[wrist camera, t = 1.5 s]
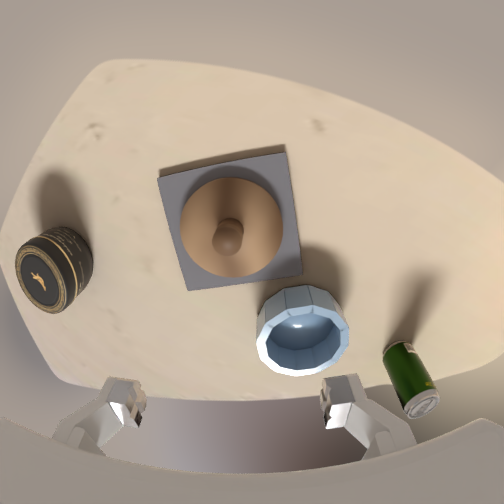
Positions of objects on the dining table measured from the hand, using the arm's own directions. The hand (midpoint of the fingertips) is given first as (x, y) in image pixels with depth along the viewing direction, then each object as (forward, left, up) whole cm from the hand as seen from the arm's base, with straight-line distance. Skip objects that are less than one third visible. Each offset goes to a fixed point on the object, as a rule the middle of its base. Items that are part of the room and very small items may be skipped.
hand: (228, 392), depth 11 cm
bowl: (-4, +13, -22) cm, 26 cm away
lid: (+2, -1, -22) cm, 22 cm away
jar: (+26, -1, -23) cm, 34 cm away
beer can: (-19, +23, -23) cm, 38 cm away
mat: (+2, -1, -22) cm, 22 cm away
